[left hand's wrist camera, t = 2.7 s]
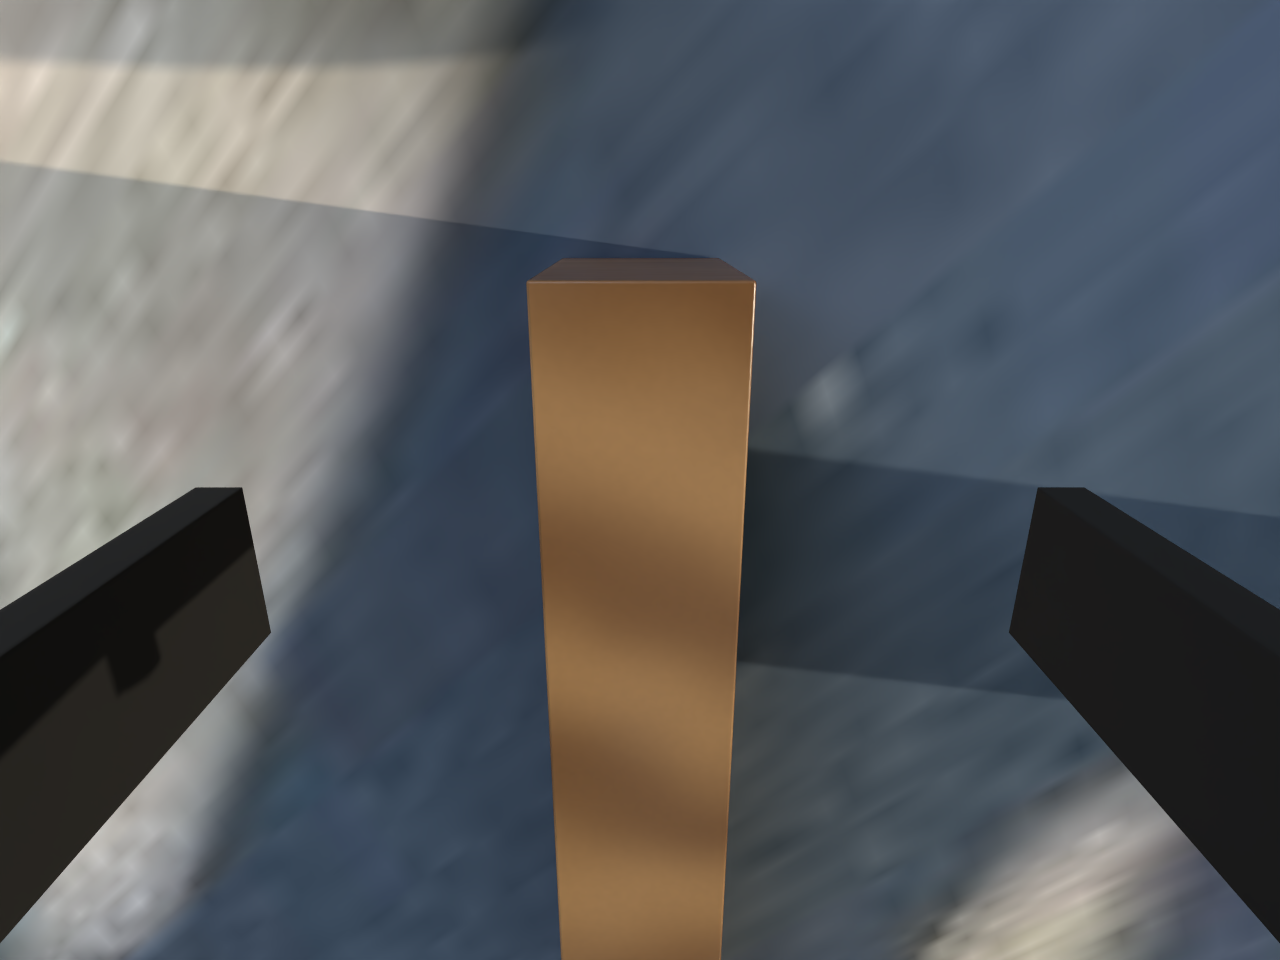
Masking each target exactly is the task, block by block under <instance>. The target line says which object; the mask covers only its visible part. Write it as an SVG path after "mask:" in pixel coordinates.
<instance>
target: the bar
mask: <svg viewBox="0 0 1280 960" xmlns="http://www.w3.org/2000/svg"><path fill="white" fill-rule="evenodd" d="M526 286H527V305H528V324H529V344H530V363H531V383H532V402H533V422H534V441H535V460H536V480H537V499H538V519H539V538H540V558H541V577H542V596H543V616H544V635H545V655H546V674H547V694H548V713H549V732H550V752H551V771H552V791H553V810H554V830H555V849H556V868H557V888H558V907H559V927H560V946H561V960H721V944H722V925H723V907H724V888H725V869H726V850H727V831H728V812H729V793H730V774H731V755H732V736H733V717H734V698H735V679H736V660H737V641H738V622H739V603H740V584H741V565H742V546H743V527H744V508H745V489H746V470H747V451H748V432H749V413H750V394H751V375H752V356H753V337H754V318H755V299H756V281H754V280H753V279H751V278H750V277H748V276H746V275H745V274H743V273H742V272H740V271H738V270H737V269H735V268H734V267H732V266H730V265H729V264H727V263H726V262H724V261H722V260H721V259H719V258H563V259H561V260H560V261H558V262H556V263H555V264H553V265H552V266H550V267H549V268H547V269H545V270H544V271H542V272H541V273H539V274H538V275H536V276H535V277H533V278H531V279H530V280H528V281H527V283H526Z"/></svg>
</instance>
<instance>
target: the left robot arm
mask: <svg viewBox="0 0 1280 960" xmlns="http://www.w3.org/2000/svg"><path fill="white" fill-rule="evenodd" d="M270 633H271V630H270V625H269V620H268V615H267V610H266V605H265V600H264V595H263V590H262V585H261V580H260V575H259V570H258V565H257V560H256V555H255V550H254V545H253V540H252V535H251V530H250V525H249V520H248V515H247V510H246V504H245V499H244V494H243V489H242V488H194V489H193V490H191V491H189V492H188V493H186V494H185V495H183V496H181V497H180V498H178V499H177V500H175V501H173V502H172V503H170V504H169V505H167V506H165V507H164V508H162V509H161V510H159V511H157V512H156V513H154V514H153V515H151V516H150V517H148V518H146V519H145V520H143V521H142V522H140V523H138V524H137V525H135V526H134V527H132V528H130V529H129V530H127V531H126V532H124V533H122V534H121V535H119V536H118V537H116V538H114V539H113V540H111V541H110V542H108V543H106V544H105V545H103V546H102V547H100V548H98V549H97V550H95V551H94V552H92V553H90V554H89V555H87V556H86V557H84V558H82V559H81V560H79V561H78V562H76V563H74V564H73V565H71V566H70V567H68V568H66V569H65V570H63V571H62V572H60V573H59V574H57V575H55V576H54V577H52V578H51V579H49V580H47V581H46V582H44V583H43V584H41V585H39V586H38V587H36V588H35V589H33V590H31V591H30V592H28V593H27V594H25V595H23V596H22V597H20V598H19V599H17V600H15V601H14V602H12V603H11V604H9V605H7V606H6V607H4V608H3V609H1V610H0V943H1V942H2V940H3V939H4V938H5V937H6V936H7V935H8V934H9V932H10V931H11V930H12V929H13V928H14V927H15V926H16V924H17V923H18V922H19V921H20V920H21V919H22V918H23V916H24V915H25V914H26V913H27V912H28V911H29V909H30V908H31V907H32V906H33V905H34V904H35V903H36V901H37V900H38V899H39V898H40V897H41V896H42V895H43V893H44V892H45V891H46V890H47V889H48V888H49V887H50V885H51V884H52V883H53V882H54V881H55V880H56V879H57V877H58V876H59V875H60V874H61V873H62V872H63V870H64V869H65V868H66V867H67V866H68V865H69V864H70V862H71V861H72V860H73V859H74V858H75V857H76V856H77V854H78V853H79V852H80V851H81V850H82V849H83V848H84V846H85V845H86V844H87V843H88V842H89V841H90V840H91V838H92V837H93V836H94V835H95V834H96V833H97V832H98V830H99V829H100V828H101V827H102V826H103V825H104V823H105V822H106V821H107V820H108V819H109V818H110V817H111V815H112V814H113V813H114V812H115V811H116V810H117V809H118V807H119V806H120V805H121V804H122V803H123V802H124V801H125V799H126V798H127V797H128V796H129V795H130V794H131V793H132V791H133V790H134V789H135V788H136V787H137V786H138V784H139V783H140V782H141V781H142V780H143V779H144V778H145V776H146V775H147V774H148V773H149V772H150V771H151V770H152V768H153V767H154V766H155V765H156V764H157V763H158V762H159V760H160V759H161V758H162V757H163V756H164V755H165V754H166V752H167V751H168V750H169V749H170V748H171V747H172V745H173V744H174V743H175V742H176V741H177V740H178V739H179V737H180V736H181V735H182V734H183V733H184V732H185V731H186V729H187V728H188V727H189V726H190V725H191V724H192V723H193V721H194V720H195V719H196V718H197V717H198V716H199V715H200V713H201V712H202V711H203V710H204V709H205V708H206V706H207V705H208V704H209V703H210V702H211V701H212V700H213V698H214V697H215V696H216V695H217V694H218V693H219V692H220V690H221V689H222V688H223V687H224V686H225V685H226V684H227V682H228V681H229V680H230V679H231V678H232V677H233V676H234V674H235V673H236V672H237V671H238V670H239V669H240V667H241V666H242V665H243V664H244V663H245V662H246V661H247V659H248V658H249V657H250V656H251V655H252V654H253V653H254V651H255V650H256V649H257V648H258V647H259V646H260V645H261V643H262V642H263V641H264V640H265V639H266V638H267V637H268V635H269V634H270ZM1009 633H1010V634H1011V635H1012V637H1013V638H1014V639H1015V640H1016V641H1017V642H1018V643H1019V645H1020V646H1021V647H1022V648H1023V649H1024V650H1025V651H1026V653H1027V654H1028V655H1029V656H1030V657H1031V658H1032V659H1033V661H1034V662H1035V663H1036V664H1037V665H1038V666H1039V667H1040V669H1041V670H1042V671H1043V672H1044V673H1045V674H1046V676H1047V677H1048V678H1049V679H1050V680H1051V681H1052V682H1053V684H1054V685H1055V686H1056V687H1057V688H1058V689H1059V690H1060V692H1061V693H1062V694H1063V695H1064V696H1065V697H1066V698H1067V700H1068V701H1069V702H1070V703H1071V704H1072V705H1073V706H1074V708H1075V709H1076V710H1077V711H1078V712H1079V713H1080V715H1081V716H1082V717H1083V718H1084V719H1085V720H1086V721H1087V723H1088V724H1089V725H1090V726H1091V727H1092V728H1093V729H1094V731H1095V732H1096V733H1097V734H1098V735H1099V736H1100V737H1101V739H1102V740H1103V741H1104V742H1105V743H1106V744H1107V745H1108V747H1109V748H1110V749H1111V750H1112V751H1113V752H1114V754H1115V755H1116V756H1117V757H1118V758H1119V759H1120V760H1121V762H1122V763H1123V764H1124V765H1125V766H1126V767H1127V768H1128V770H1129V771H1130V772H1131V773H1132V774H1133V775H1134V776H1135V778H1136V779H1137V780H1138V781H1139V782H1140V783H1141V784H1142V786H1143V787H1144V788H1145V789H1146V790H1147V791H1148V793H1149V794H1150V795H1151V796H1152V797H1153V798H1154V799H1155V801H1156V802H1157V803H1158V804H1159V805H1160V806H1161V807H1162V809H1163V810H1164V811H1165V812H1166V813H1167V814H1168V815H1169V817H1170V818H1171V819H1172V820H1173V821H1174V822H1175V823H1176V825H1177V826H1178V827H1179V828H1180V829H1181V830H1182V832H1183V833H1184V834H1185V835H1186V836H1187V837H1188V838H1189V840H1190V841H1191V842H1192V843H1193V844H1194V845H1195V846H1196V848H1197V849H1198V850H1199V851H1200V852H1201V853H1202V854H1203V856H1204V857H1205V858H1206V859H1207V860H1208V861H1209V862H1210V864H1211V865H1212V866H1213V867H1214V868H1215V869H1216V870H1217V872H1218V873H1219V874H1220V875H1221V876H1222V877H1223V879H1224V880H1225V881H1226V882H1227V883H1228V884H1229V885H1230V887H1231V888H1232V889H1233V890H1234V891H1235V892H1236V893H1237V895H1238V896H1239V897H1240V898H1241V899H1242V900H1243V901H1244V903H1245V904H1246V905H1247V906H1248V907H1249V908H1250V909H1251V911H1252V912H1253V913H1254V914H1255V915H1256V916H1257V918H1258V919H1259V920H1260V921H1261V922H1262V923H1263V924H1264V926H1265V927H1266V928H1267V929H1268V930H1269V931H1270V932H1271V934H1272V935H1273V936H1274V937H1275V938H1276V939H1277V940H1278V942H1279V943H1280V610H1279V609H1277V608H1276V607H1274V606H1273V605H1271V604H1269V603H1268V602H1266V601H1265V600H1263V599H1261V598H1260V597H1258V596H1257V595H1255V594H1253V593H1252V592H1250V591H1249V590H1247V589H1245V588H1244V587H1242V586H1241V585H1239V584H1237V583H1236V582H1234V581H1233V580H1231V579H1229V578H1228V577H1226V576H1225V575H1223V574H1221V573H1220V572H1218V571H1217V570H1215V569H1214V568H1212V567H1210V566H1209V565H1207V564H1206V563H1204V562H1202V561H1201V560H1199V559H1198V558H1196V557H1194V556H1193V555H1191V554H1190V553H1188V552H1186V551H1185V550H1183V549H1182V548H1180V547H1178V546H1177V545H1175V544H1174V543H1172V542H1170V541H1169V540H1167V539H1166V538H1164V537H1162V536H1161V535H1159V534H1158V533H1156V532H1154V531H1153V530H1151V529H1150V528H1148V527H1146V526H1145V525H1143V524H1142V523H1140V522H1138V521H1137V520H1135V519H1134V518H1132V517H1130V516H1129V515H1127V514H1126V513H1124V512H1123V511H1121V510H1119V509H1118V508H1116V507H1115V506H1113V505H1111V504H1110V503H1108V502H1107V501H1105V500H1103V499H1102V498H1100V497H1099V496H1097V495H1095V494H1094V493H1092V492H1091V491H1089V490H1087V489H1086V488H1038V489H1037V494H1036V499H1035V504H1034V510H1033V515H1032V520H1031V525H1030V530H1029V535H1028V540H1027V545H1026V550H1025V555H1024V560H1023V565H1022V570H1021V575H1020V580H1019V585H1018V590H1017V595H1016V600H1015V605H1014V610H1013V615H1012V620H1011V625H1010V630H1009Z"/></svg>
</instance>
